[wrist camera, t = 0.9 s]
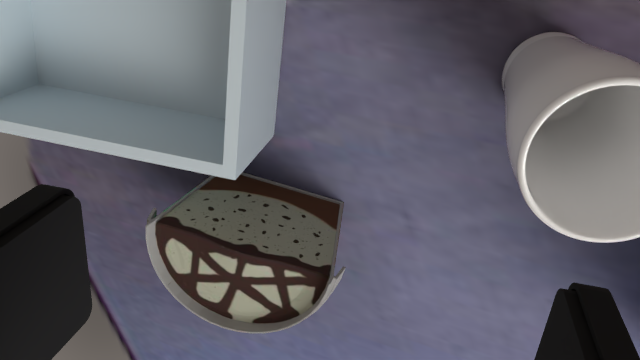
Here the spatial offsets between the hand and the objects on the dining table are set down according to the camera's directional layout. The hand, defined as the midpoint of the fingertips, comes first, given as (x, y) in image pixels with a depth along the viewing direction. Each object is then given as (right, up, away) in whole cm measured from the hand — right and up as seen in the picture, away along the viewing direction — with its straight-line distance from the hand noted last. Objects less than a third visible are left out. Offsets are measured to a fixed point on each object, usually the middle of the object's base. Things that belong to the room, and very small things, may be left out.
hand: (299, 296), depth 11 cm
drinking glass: (+14, +9, +23) cm, 29 cm away
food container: (-3, -1, +31) cm, 32 cm away
